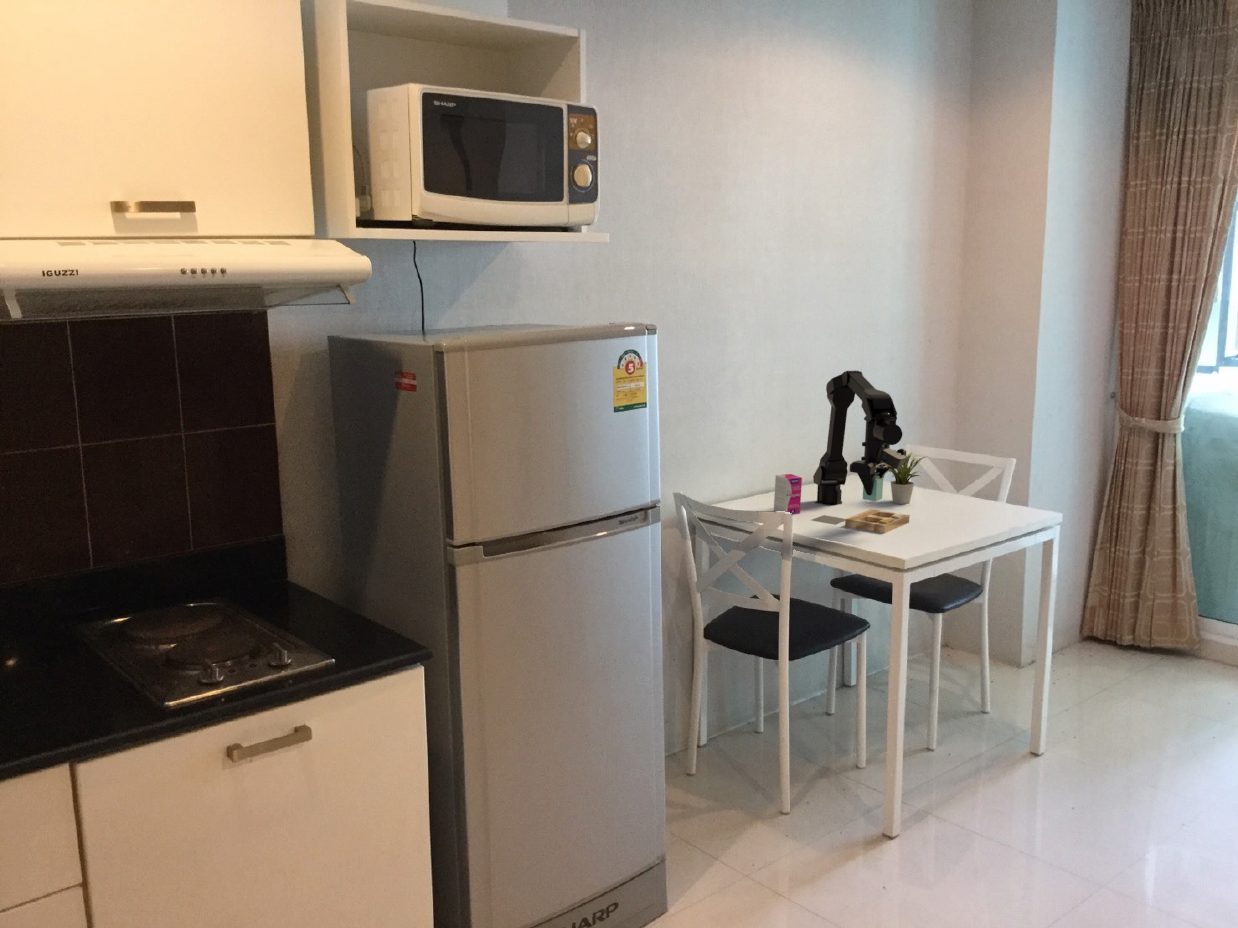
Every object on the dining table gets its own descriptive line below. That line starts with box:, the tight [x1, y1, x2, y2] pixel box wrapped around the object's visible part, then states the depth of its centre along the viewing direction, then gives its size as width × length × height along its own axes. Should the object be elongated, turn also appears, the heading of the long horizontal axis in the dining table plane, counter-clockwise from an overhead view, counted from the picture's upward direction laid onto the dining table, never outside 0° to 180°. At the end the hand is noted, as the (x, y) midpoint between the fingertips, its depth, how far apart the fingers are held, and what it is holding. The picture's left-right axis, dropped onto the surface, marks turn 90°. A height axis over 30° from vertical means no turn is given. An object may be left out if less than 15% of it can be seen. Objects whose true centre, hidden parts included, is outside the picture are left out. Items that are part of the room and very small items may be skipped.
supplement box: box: [773, 473, 803, 515], centre depth 316 cm, size 6×6×12 cm
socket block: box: [844, 508, 911, 534], centre depth 304 cm, size 12×16×3 cm
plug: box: [862, 476, 884, 502], centre depth 299 cm, size 4×4×7 cm
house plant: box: [886, 452, 927, 505], centre depth 333 cm, size 14×14×16 cm
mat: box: [811, 514, 846, 526], centre depth 309 cm, size 8×8×1 cm
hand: (872, 493), depth 299 cm, fingers closed on plug, 4 cm apart
